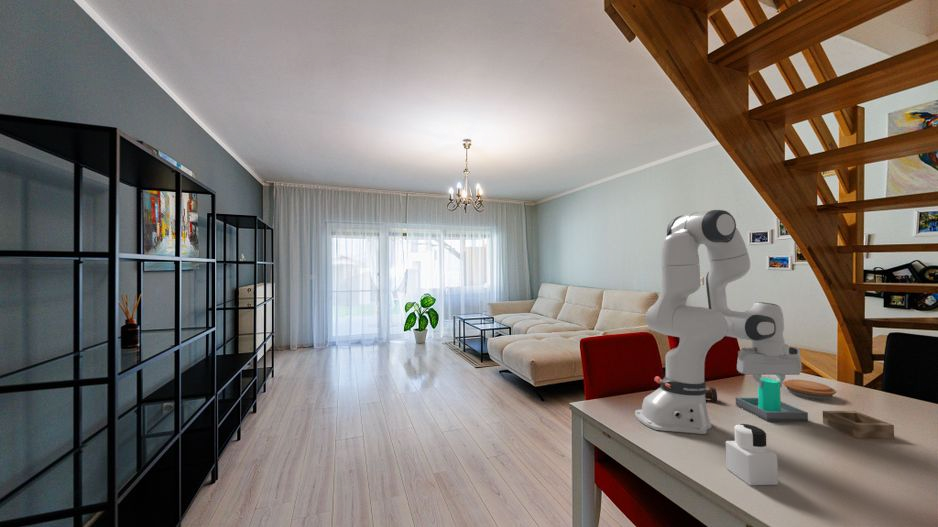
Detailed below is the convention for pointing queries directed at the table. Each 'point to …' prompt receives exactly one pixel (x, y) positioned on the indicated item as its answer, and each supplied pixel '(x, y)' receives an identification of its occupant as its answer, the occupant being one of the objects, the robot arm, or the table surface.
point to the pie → (809, 389)
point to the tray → (785, 415)
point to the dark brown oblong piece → (711, 394)
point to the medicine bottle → (751, 456)
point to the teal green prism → (769, 395)
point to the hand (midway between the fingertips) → (769, 386)
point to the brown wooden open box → (858, 424)
